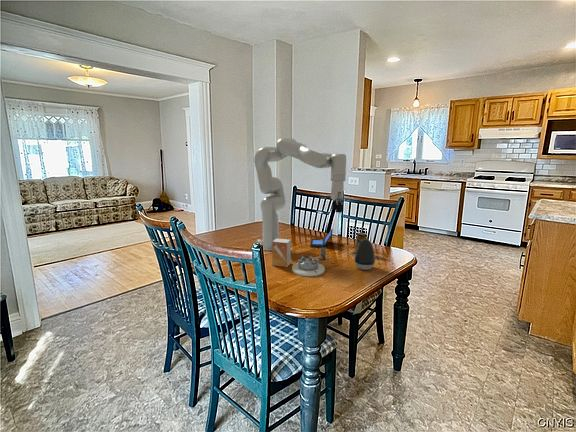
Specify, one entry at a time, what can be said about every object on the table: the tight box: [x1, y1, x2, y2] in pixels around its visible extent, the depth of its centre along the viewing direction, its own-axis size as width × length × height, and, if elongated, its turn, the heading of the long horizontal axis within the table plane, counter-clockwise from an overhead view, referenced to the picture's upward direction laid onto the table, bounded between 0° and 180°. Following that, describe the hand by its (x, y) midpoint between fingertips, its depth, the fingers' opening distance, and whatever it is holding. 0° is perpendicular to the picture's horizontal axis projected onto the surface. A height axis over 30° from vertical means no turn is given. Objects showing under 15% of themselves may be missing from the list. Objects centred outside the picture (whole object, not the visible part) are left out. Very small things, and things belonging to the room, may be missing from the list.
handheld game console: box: [309, 228, 333, 249], centre depth 200 cm, size 16×13×9 cm
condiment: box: [350, 232, 368, 256], centre depth 181 cm, size 7×8×12 cm
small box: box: [271, 238, 292, 268], centre depth 163 cm, size 8×6×13 cm
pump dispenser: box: [353, 238, 376, 271], centre depth 158 cm, size 10×10×15 cm
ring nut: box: [297, 247, 327, 271], centre depth 157 cm, size 16×10×8 cm, turn 128°
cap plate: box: [291, 262, 325, 277], centre depth 156 cm, size 16×16×2 cm
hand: (337, 210), depth 167 cm, fingers open, 9 cm apart
